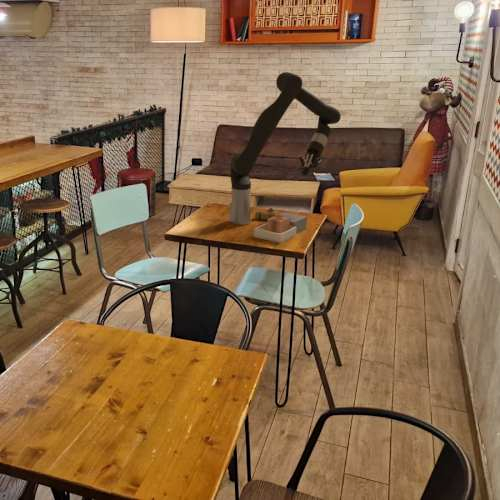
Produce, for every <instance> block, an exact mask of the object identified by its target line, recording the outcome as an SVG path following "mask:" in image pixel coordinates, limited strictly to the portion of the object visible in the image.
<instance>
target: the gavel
mask: <svg viewBox="0 0 500 500" xmlns="http://www.w3.org/2000/svg"><path fill="white" fill-rule="evenodd" d="M276 215H277V213H276V212H275V211H274V208H273V207H269V208H268V209H267V210H266V211H261V210H256V211H255V214H254V219H255V220H257V221H260V220H261V221H267V219H268V218H271V217H273V216H276Z"/></svg>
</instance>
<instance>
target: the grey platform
mask: <svg viewBox="0 0 500 500" xmlns="http://www.w3.org/2000/svg"><path fill="white" fill-rule="evenodd" d="M278 215H279V216H283V217H288V218H290V226H294V227H297V229H296V235H297V234H299V233H300V232H302V231H305V230H307V224H308V223H307V222H308V216H306V215H300V214H295V213H290V212H283V213H280V214H278Z"/></svg>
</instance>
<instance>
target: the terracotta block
mask: <svg viewBox="0 0 500 500" xmlns="http://www.w3.org/2000/svg"><path fill="white" fill-rule="evenodd" d="M279 215H280V214H276V216H273V217H271V218H268V219H267V220H266V223H267V231H270V232H274V233H279V234H281V233H283V232H285V231H287V230H289V226H290V218H288V217H283V216H279Z"/></svg>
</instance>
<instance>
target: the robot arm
mask: <svg viewBox="0 0 500 500" xmlns="http://www.w3.org/2000/svg"><path fill="white" fill-rule="evenodd" d="M275 84H276V88H277V89H278V90H279V91H280V94H279V95H278V97H277V98H276V100H275V101H274V102H273V103H272V104H270V105H268V107H266V108H265V109H264V110H263V111H262V112H260V115H259V116H258V118H257V120H256V121H255V123H254V124H253V127H252V129H251V132H250V136H249V139H248V141H247V144H246V146H245V147H244V149H243V151H242V152H241V153H240V152H239V153H235V155H233V157H232V158H231V160H230V183H231V202H230V203H229V222H230V223H231V224H233V225H239V226H240V225H241V226H243V225H244V226H245V225H248V224H250V223H251V193H252V191H251V190H252V183H251V178H250V173H251V172H252V170H253V169H254V167H255V164H256V163H257V160H258V158H259V156H260V154H261V152H262V151H263V149H264V148H265V146H266V145H267V142H268V141H269V139H270V138H271V137H272V135H273V133H274V131H275V130H276V128H277V126H278V124H279V123H280V121H281V120H282V118H283V116H284V115H285V113H286V111H287V110H288V108H289V107H290V106H291V104H292V103H293V102H294V100H296V101H297V102H299V103H300V104H301V105H302V106H304V107H305V108H306V109H307V110H309V111H310V112H311V113H313V114H314V115H316V116H317V117H318V121H317V128H316V130H315V132H314V134H313V136H312V137H311V140H310V142H309V144H308V146H307V149H306V153H305V154H304V156H303V157H302V156H300V157H299V160H300V164H301V166H302V168H303V169H302V171H301V175H302V176H304V177H307V176H308V174H309V173H310V171H311V169H312V170H314V169H316V168H317V167H318V166H319V165H320V164H322V163H323V160H322V158H321V157H322V156H323V155H322V154H323V152H324V150H325V148H326V146H327V143H328V139H329V137H330V135H331V132H332V128H331V127H330V126H329V125H335V124H338V123H339V122H340V120H341V118H342V117H341V113H340V111H339V109H337V108H336V107H334V106H332V105H330V104H328V103H326V102H324V101H323V100H322V98H321V99H320V98H319V97H318V96H317V95H316V94H314V93H312V92H311V91H309V90H307V89H305V88H304V87H303V79H302V77H301V76H299V75H298V74H297V73H292V72H290V71H289V72H288V71H285V72H281V73H280V74H279V75H277V78H276V81H275Z"/></svg>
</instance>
